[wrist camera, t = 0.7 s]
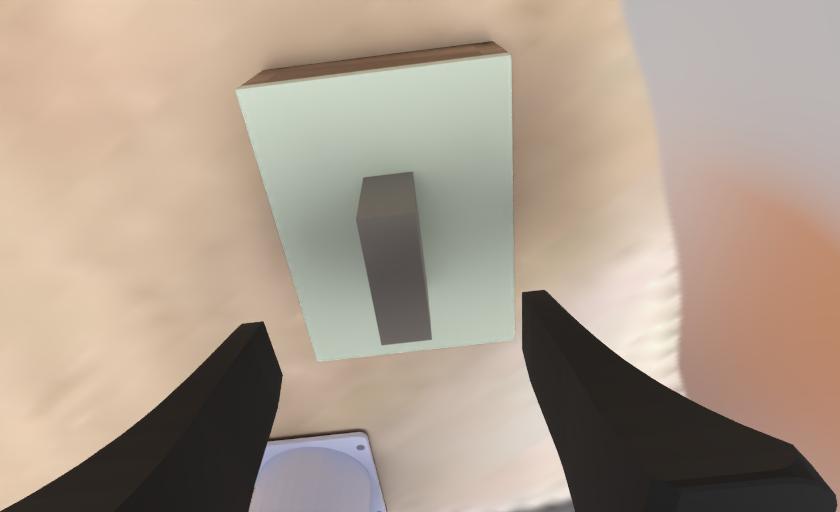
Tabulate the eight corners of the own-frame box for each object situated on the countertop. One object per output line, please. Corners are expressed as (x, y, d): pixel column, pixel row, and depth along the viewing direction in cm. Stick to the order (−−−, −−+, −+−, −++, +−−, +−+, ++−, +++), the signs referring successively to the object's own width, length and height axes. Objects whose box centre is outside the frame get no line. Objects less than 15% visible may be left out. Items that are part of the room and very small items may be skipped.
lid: (512, 331, 22) (533, 398, 18) (319, 353, 22) (304, 422, 19) (507, 52, 16) (537, 74, 12) (240, 86, 16) (196, 116, 13)
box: (500, 293, 24) (512, 331, 22) (327, 313, 25) (319, 352, 22) (492, 41, 18) (507, 52, 16) (262, 70, 19) (240, 86, 16)
